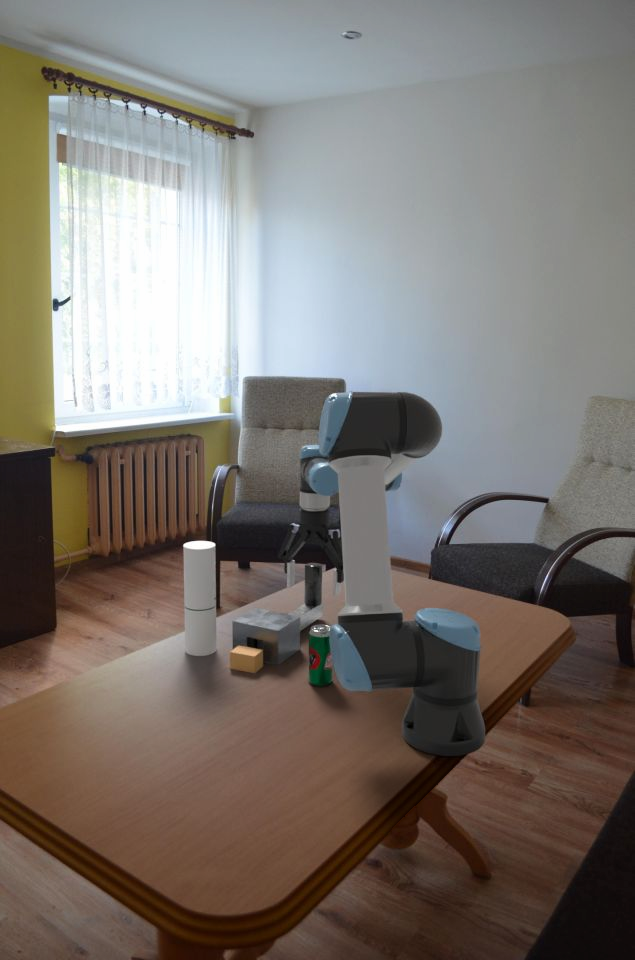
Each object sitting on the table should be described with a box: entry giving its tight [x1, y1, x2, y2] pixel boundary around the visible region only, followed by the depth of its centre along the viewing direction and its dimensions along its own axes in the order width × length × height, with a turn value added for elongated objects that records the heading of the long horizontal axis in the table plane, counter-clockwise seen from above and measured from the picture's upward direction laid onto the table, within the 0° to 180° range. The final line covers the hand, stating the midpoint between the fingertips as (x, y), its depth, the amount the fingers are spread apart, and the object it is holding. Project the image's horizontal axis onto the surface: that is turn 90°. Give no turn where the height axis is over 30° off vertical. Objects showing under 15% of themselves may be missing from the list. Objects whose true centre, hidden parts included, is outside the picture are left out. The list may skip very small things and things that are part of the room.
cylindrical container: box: [182, 540, 217, 657], centre depth 182 cm, size 7×7×25 cm
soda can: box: [307, 624, 334, 687], centre depth 167 cm, size 5×5×12 cm
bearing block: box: [231, 607, 301, 666], centre depth 183 cm, size 10×12×8 cm
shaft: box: [257, 562, 324, 649], centre depth 192 cm, size 26×4×14 cm, turn 153°
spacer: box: [229, 645, 264, 674], centre depth 175 cm, size 4×6×4 cm
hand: (313, 590), depth 202 cm, fingers open, 12 cm apart
